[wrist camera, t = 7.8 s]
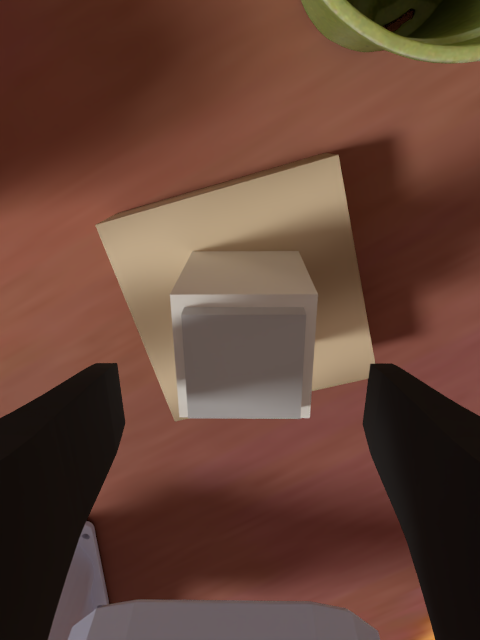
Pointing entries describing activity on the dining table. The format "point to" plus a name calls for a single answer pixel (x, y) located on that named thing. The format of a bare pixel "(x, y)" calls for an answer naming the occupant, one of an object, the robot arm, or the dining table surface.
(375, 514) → the dining table surface
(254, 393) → the white rectangular block
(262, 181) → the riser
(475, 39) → the plant pot
